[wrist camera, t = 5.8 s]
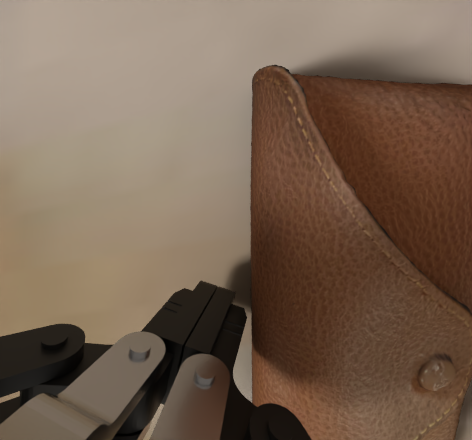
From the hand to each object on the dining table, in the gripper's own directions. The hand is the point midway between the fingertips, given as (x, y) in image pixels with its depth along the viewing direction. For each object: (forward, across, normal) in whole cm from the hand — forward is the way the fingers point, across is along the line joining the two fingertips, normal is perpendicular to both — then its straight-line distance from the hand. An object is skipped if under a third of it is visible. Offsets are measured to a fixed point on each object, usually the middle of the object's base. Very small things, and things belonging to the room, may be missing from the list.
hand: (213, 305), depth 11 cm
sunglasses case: (+2, -6, -1) cm, 6 cm away
